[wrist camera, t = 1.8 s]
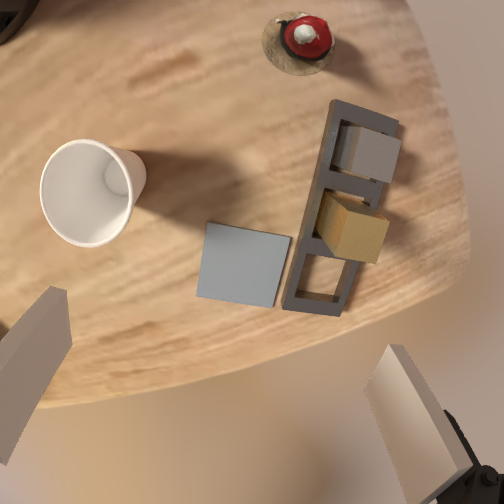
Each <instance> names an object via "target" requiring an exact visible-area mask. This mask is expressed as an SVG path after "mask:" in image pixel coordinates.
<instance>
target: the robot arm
mask: <svg viewBox="0 0 504 504" xmlns="http://www.w3.org/2000/svg"><path fill="white" fill-rule="evenodd" d="M38 1H39V0H0V44H1V43H3V42H5V41H6V40H8V39H9V38H10V37H11V36H12V35H14V34H15V33H16V32H17V31H18V30H19V29H20V27H21V26H22V25H23V24H24V23H25V21H26V20H27V19H28V17H29V16H30V15H31V13H32V12H33V10H34V8H35V7H36V5H37V3H38ZM71 346H72V338H71V330H70V322H69V313H68V302H67V290H64V289H60V288H56V287H53V286H50V287H49V288H48V289H47V290H46V291H45V292H44V293H43V294H42V295H41V297H40V298H39V299H38V300H37V301H36V302H35V303H34V304H33V305H32V306H31V307H30V308H29V309H28V310H27V311H26V313H25V314H24V315H23V316H22V317H21V318H20V319H19V320H18V321H17V322H16V324H15V325H14V326H13V327H12V328H11V329H10V330H9V332H8V333H7V334H6V335H5V336H4V337H3V339H2V340H1V341H0V463H1V464H3V465H5V466H6V465H7V463H8V461H9V458H10V456H11V454H12V452H13V450H14V448H15V446H16V444H17V442H18V440H19V438H20V436H21V434H22V432H23V430H24V428H25V426H26V424H27V422H28V421H29V419H30V417H31V415H32V413H33V411H34V409H35V408H36V406H37V404H38V402H39V400H40V399H41V397H42V395H43V393H44V391H45V390H46V388H47V386H48V384H49V383H50V381H51V379H52V378H53V376H54V374H55V373H56V371H57V369H58V368H59V366H60V364H61V363H62V361H63V359H64V358H65V356H66V354H67V353H68V351H69V350H70V348H71ZM364 392H365V394H366V397H367V399H368V402H369V404H370V407H371V409H372V412H373V414H374V416H375V419H376V422H377V424H378V427H379V429H380V432H381V434H382V437H383V439H384V442H385V444H386V447H387V450H388V452H389V455H390V457H391V460H392V463H393V466H394V468H395V471H396V473H397V476H398V479H399V482H400V485H401V487H402V490H403V493H404V496H405V499H406V501H407V504H429V503H430V502H431V501H432V500H434V499H435V498H436V500H437V502H438V503H437V504H504V474H498V472H497V471H496V470H495V469H494V468H492V467H491V466H488V465H483V466H481V464H480V463H479V461H478V459H477V458H476V456H475V454H474V452H473V450H472V448H471V447H470V445H469V443H468V441H467V439H466V438H465V437H464V434H463V432H462V431H461V430H460V427H459V425H458V424H457V423H456V420H455V418H454V417H453V416H452V415H451V414H450V413H449V412H447V411H446V410H443V409H442V408H441V406H440V404H439V403H438V401H437V399H436V398H435V396H434V394H433V392H432V391H431V389H430V388H429V386H428V384H427V383H426V381H425V379H424V378H423V376H422V374H421V373H420V371H419V370H418V368H417V366H416V365H415V363H414V362H413V360H412V359H411V357H410V355H409V354H408V352H407V351H406V349H405V348H404V346H403V345H397V344H389V345H388V347H387V348H386V350H385V352H384V354H383V356H382V358H381V360H380V362H379V363H378V365H377V367H376V369H375V371H374V372H373V374H372V376H371V378H370V379H369V381H368V383H367V385H366V386H365V388H364Z"/></svg>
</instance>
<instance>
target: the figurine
mask: <svg viewBox="0 0 504 504" xmlns="http://www.w3.org/2000/svg"><path fill="white" fill-rule="evenodd" d="M334 42H335V41H334V36H333V34H332V32H331V30H330V28H329V26H328V24H327V22H326V21H325V20H324V19H322V17H319V16H314V15H310V14H307V13H303V12H286V13H283V14H280V15H278V16H276V17H275V18H273V19H272V20H271V21H270V22H269V23H268V24H267V26H266V27H265V29H264V32H263V35H262V46H263V50H264V52H265V54H266V56H267V58H268V59H269V60H270V62H271V63H272V64H273V65H274V66H276V67H277V68H278V69H280V70H282V71H284V72H286V73H289V74H292V75H299V76H304V75H311V74H314V73H317V72H319V71H320V70H322V69H323V68H325V67H326V66H327V65H328V63H329V62H330V60H331V59H332V56H333V53H334ZM311 72H312V73H311Z"/></svg>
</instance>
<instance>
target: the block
mask: <svg viewBox="0 0 504 504" xmlns="http://www.w3.org/2000/svg"><path fill="white" fill-rule="evenodd" d="M400 146H401V140H398V139H396V138H393V137H390V136H387V135H384V134H381V133H379V132H376V131H373V130H370V129H367V128H364V127H352V126H340V127H339V132H338V136H337V140H336V145H335V149H334V153H333V157H332V161H331V164H333V165H335V166H338V167H340V168H342V169H345V170H347V171H349V172H352V173H356V174H359V175H363V176H366V177H370V178H373V179H377V180H380V181H383V182H387V183H390V184H391V181H392V178H393V174H394V170H395V166H396V162H397V158H398V154H399V150H400Z"/></svg>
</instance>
